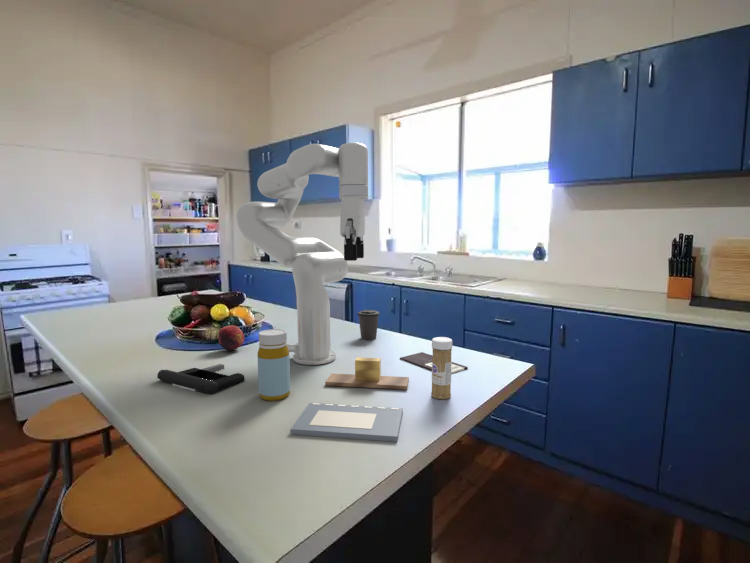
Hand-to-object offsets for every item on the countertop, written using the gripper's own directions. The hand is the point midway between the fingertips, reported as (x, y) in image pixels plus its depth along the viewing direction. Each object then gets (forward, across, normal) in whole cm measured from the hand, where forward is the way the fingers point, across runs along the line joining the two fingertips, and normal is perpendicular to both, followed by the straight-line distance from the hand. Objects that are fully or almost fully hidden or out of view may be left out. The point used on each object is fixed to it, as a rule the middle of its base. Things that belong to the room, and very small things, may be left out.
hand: (354, 259), depth 109 cm
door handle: (+31, +12, -37) cm, 50 cm away
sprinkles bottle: (+31, +15, +23) cm, 41 cm away
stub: (+30, +10, +5) cm, 32 cm away
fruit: (+31, -13, -43) cm, 54 cm away
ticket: (+30, +31, +5) cm, 44 cm away
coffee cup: (+31, -34, -2) cm, 46 cm away
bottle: (+31, +20, -15) cm, 39 cm away
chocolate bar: (+31, -8, +21) cm, 38 cm away
